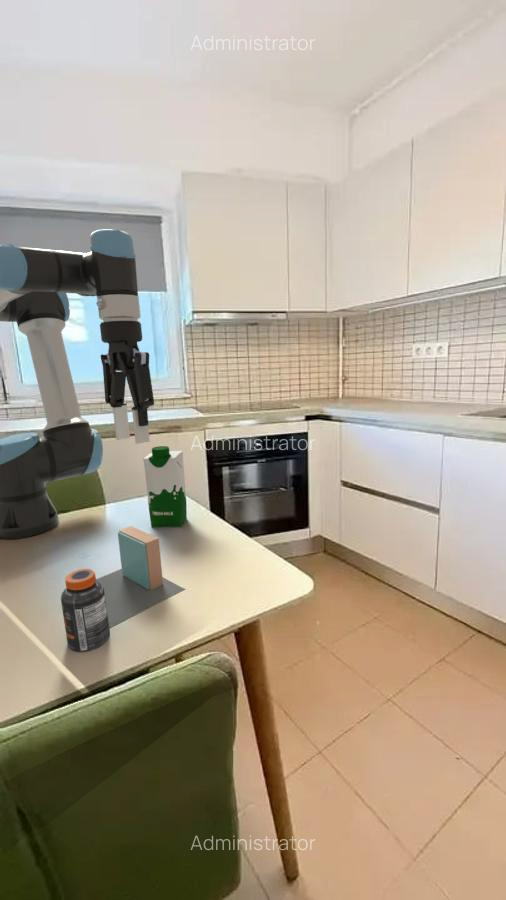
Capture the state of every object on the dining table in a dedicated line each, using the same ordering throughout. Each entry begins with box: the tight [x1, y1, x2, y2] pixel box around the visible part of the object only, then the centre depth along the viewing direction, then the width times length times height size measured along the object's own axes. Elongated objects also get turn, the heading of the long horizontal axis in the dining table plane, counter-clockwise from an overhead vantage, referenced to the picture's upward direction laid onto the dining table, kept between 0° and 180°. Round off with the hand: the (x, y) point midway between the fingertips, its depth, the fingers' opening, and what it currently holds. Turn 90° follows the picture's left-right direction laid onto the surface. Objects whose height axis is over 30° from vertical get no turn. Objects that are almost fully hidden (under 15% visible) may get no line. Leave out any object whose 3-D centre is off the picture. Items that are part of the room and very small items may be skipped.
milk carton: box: [142, 445, 188, 529], centre depth 109 cm, size 9×9×20 cm
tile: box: [117, 525, 164, 590], centre depth 82 cm, size 9×3×9 cm, turn 47°
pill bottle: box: [60, 568, 111, 653], centre depth 65 cm, size 6×6×11 cm
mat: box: [96, 568, 186, 630], centre depth 79 cm, size 16×15×1 cm
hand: (132, 440), depth 89 cm, fingers open, 6 cm apart
